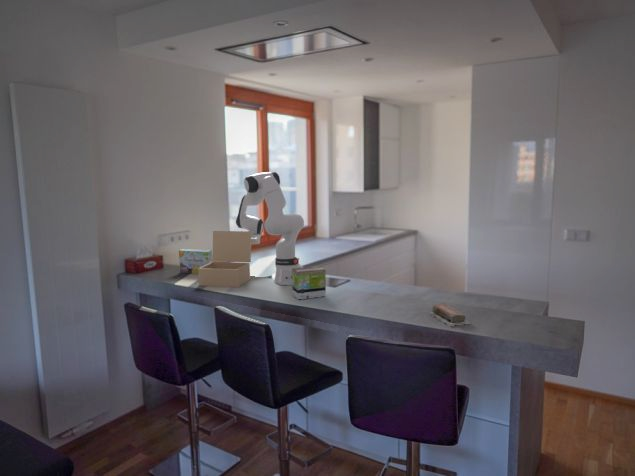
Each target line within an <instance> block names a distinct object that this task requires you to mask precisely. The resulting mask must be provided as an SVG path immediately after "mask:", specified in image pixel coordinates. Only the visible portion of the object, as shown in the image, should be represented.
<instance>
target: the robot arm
mask: <svg viewBox="0 0 635 476" xmlns="http://www.w3.org/2000/svg"><path fill="white" fill-rule="evenodd" d="M243 183H244V184H243V185H244V189H245V191H246V192H247V193H246V194H244V195H243V196H242V197H241V201H240V204H239V208H238V214H237V216H236V220H235V224H236V226H237V228H239V229H244V230H247V231H251V246H252V245H253V246H254V245H260V244H261V237H262V233H263V231H264V230H265V232H266V233H267V234H268V235H270V236H280V235H281V237H280V239H279V240H278V241H277V242H276V243H275V260H274V264H275V274H274V275H275V277H274V283H275V284H278V285H280V286H292V268H301V267H304V266H302V265H301V264H300V263H299V260H300V257H296V242H297V238H298V235H299V233H300V232H301V230H302V229H304V225H305V221H304V218H303V217H302V215H301V214H297V213H289V214H284V211H283V209H284V208H285V207H286V205H287V201H286V198H285V196H284V193H283V191H282V188H281V186H280V184H281V179H280V175H279V174H278V173H277V172H276V171H269V172H268V171H267V172H259V173H255V174H252V175H251V174H250V175H248V176H246V177H245V178H244V180H243ZM264 201H265V204H266V208H267V218H266V219H265V221H263V219H262V218H260V217H256V216H252V215H249V214H248V213H247V208H248V207H249V206H250V207H252V206H254V207H255V206H258V205H260V204H262V203H263V202H264Z"/></svg>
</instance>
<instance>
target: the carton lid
mask: <svg viewBox="0 0 635 476" xmlns="http://www.w3.org/2000/svg"><path fill="white" fill-rule="evenodd" d="M251 258H252V245H251V231H249V230H247V231H242V230H241V231H240V230H239V231H237V230H213V231H212V262H232V263H251V262H252V261H251Z"/></svg>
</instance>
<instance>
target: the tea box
mask: <svg viewBox="0 0 635 476" xmlns="http://www.w3.org/2000/svg"><path fill="white" fill-rule="evenodd" d="M326 272H327V271H326V268H323V267H321V266H319V265H313V266H305V267H304V266H303V267H301V268H292V285H291V287H292V294H291V295H292V296H293V297H294V298H295V297H296V298H295V299H297V300H298V299H301V300H306V299H307V298H308V299H315V298H314V297H318V298H322V297H321V296H325V297H326V295H327V294H326V293H327V291H326V290H327V289H326V287H327V286H326V285H327V283H326V274H327V273H326ZM308 299H307V300H308Z"/></svg>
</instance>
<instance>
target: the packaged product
mask: <svg viewBox="0 0 635 476" xmlns="http://www.w3.org/2000/svg"><path fill="white" fill-rule="evenodd" d="M428 314H429V315H430V314H431V315H433V316H434V317H436V318H438V319H439V320H441V321H443V322H445V323H446V324H448V325H458V324H467V323H470V324H471V322H470V321H468V320H467V319H466V315H465V314H463V313H461V312H459V311H458V310H456V309H455V308H452V307H450V306H449V305H447V304H445V303H444V304H443V303H442V304H441V303H440V304H434V305H432V311H429V312H428ZM431 315H430V316H431ZM433 316H432V317H433ZM434 317H433V318H434ZM436 318H435V319H436ZM439 320H438V321H439Z"/></svg>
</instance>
